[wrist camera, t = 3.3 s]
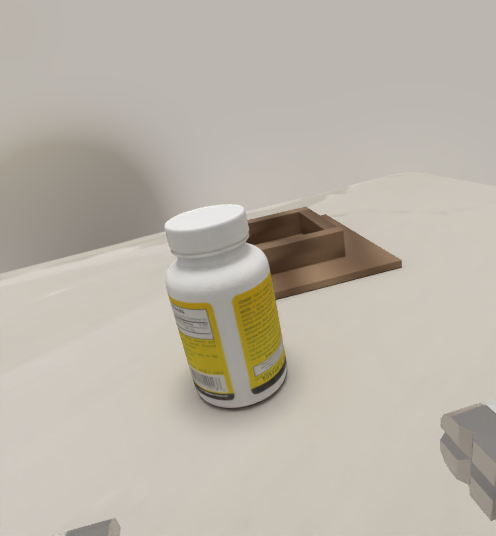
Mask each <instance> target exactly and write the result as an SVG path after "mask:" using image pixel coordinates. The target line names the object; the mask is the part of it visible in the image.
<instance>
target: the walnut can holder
mask: <svg viewBox="0 0 496 536" xmlns="http://www.w3.org/2000/svg"><path fill="white" fill-rule="evenodd" d="M247 222H248V226H249V237H248V239H247V240H246V243H249V244H252V245H254V246H256V247H258V248H259V249H260V250H262V251H263V253H264V254H265V256H266V257H267V260H268V263H269V268H270V273H271V278H272V284H273V289H274V294H275V300H276V299H280V298H283V297H287V296H291V295H295V294H299V293H303V292H307V291H311V290H314V289H318V288H322V287H326V286H330V285H334V284H338V283H342V282H345V281H349V280H353V279H357V278H361V277H365V276H369V275H373V274H376V273H380V272H384V271H388V270H392V269H396V268H400V267H402V262H401V260H400V259H399V258H397V257H395V256H394V255H392V254H390V253H389V252H387V251H385V250H384V249H382V248H380V247H379V246H377V245H375V244H374V243H372V242H370V241H369V240H367V239H365V238H364V237H362V236H360V235H359V234H357V233H355V232H354V231H352V230H350V229H349V228H347V227H346V226H344V225H342V224H341V223H339V222H337V221H336V220H334V219H332V218H331V217H329V216H327V215H326V214H325V215H321V216H320V215H318V214H317V213H315V212H313V211H312V210H310V209H309V208H307V207H303V208H299V209H294V210H290V211H286V212H281V213H277V214H273V215H268V216H264V217H260V218H255V219H251V220H247Z"/></svg>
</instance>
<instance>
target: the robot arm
mask: <svg viewBox="0 0 496 536" xmlns="http://www.w3.org/2000/svg"><path fill="white" fill-rule="evenodd" d="M440 427H441V428H442V429H443V430H444V431H445V433H444V435H443V436H442V438H441V439H440V450H441V453H442V456H443V459H444V461H445V463H446V465H447V466H448V468H449V470H450V471H451V472H452V474H453V475H454V476H455V477H456V479H458V480H460V481H462V482H464V483H466V484H468V485H469V491H470V496H471V497H472V498H473V500H474V501H475V502H476V503H477V504H478V506H479V507H480V508H481V509H482V511H483V512H484V513H485V514H486V515H487V517H488V518H489V519H490V520H491V521H492V520H495V519H496V398H495V399H492V400H489V401H486V402H482V403H480V404H475V405H471V406H468V407H465V408H462V409H459V410H456V411H453V412H450V413H447V414H444V415H443V416H442V418H441V426H440ZM54 536H120V525H119V524H118V522H117V520H116V518H114V519H110V520H106V521H103V522H99V523H95V524H92V525H88V526H85V527H81V528H78V529H74V530H71V531H67V532H64V533H61V534H57V535H54Z"/></svg>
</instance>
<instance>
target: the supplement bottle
mask: <svg viewBox="0 0 496 536" xmlns="http://www.w3.org/2000/svg"><path fill="white" fill-rule="evenodd" d="M165 232H166V236H167V240H168V244H169V247H170V249H171V253H172V254H173V255H175V256H177V258H178V259H176V260H175V261H174V262H173V263H172V264H171V266H170V267H169V269H168V271H167V273H166V288H167V292H168V296H169V299H170V302H171V306H172V309H173V312H174V316H175V319H176V323H177V326H178V330H179V333H180V337H181V340H182V343H183V347H184V350H185V354H186V357H187V361H188V364H189V368H190V371H191V374H192V377H193V381H194V384H195V386H196V389H197V391H198V393H199V395H200V396H201V397H202V398H203V399H204V400H205V401H207V402H209V403H211V404H213V405H215V406H219V407H225V408H237V407H244V406H248V405H252V404H255V403H257V402H260V401H262V400H264V399H265V398H267V397H269V396H270V395H272V394H273V393H274V392H275V391H276V390H277V389H278V388H279V387H280V386H281V384H282V383H283V381H284V379H285V376H286V371H287V364H286V356H285V351H284V346H283V340H282V334H281V328H280V322H279V317H278V311H277V306H276V300H275V294H274V289H273V284H272V278H271V273H270V268H269V263H268V260H267V257H266V256H265V254H264V253H263V251H262V250H260V249H259V248H258V247H256V246H254V245H252V244H249V243H246V240H247V239H248V237H249V226H248V222H247V218H246V213H245V209H244V208H243V207H242V206H240V205H235V204H224V205H213V206H207V207H202V208H198V209H194V210H191V211H188V212H184V213H182V214H179V215H177V216H175V217H173V218H171V219H170V220H168V221H167V222H166V224H165Z"/></svg>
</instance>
